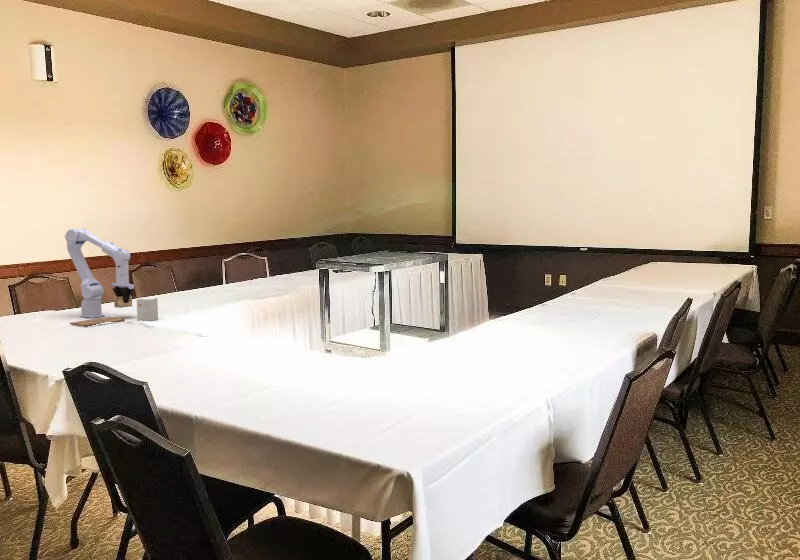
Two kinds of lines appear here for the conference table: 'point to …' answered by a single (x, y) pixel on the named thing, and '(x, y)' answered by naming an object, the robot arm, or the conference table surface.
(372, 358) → the conference table surface
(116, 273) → the robot arm
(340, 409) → the conference table surface
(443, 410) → the conference table surface
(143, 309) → the small box
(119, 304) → the block
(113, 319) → the board
